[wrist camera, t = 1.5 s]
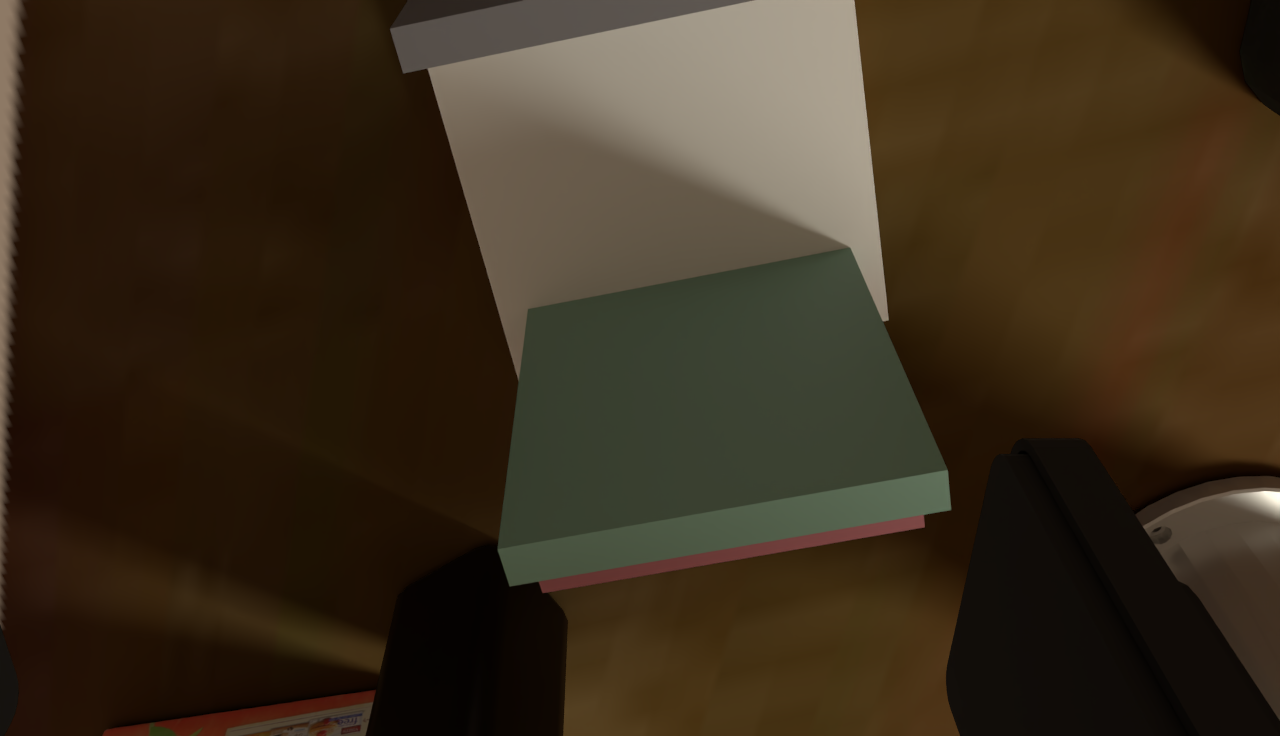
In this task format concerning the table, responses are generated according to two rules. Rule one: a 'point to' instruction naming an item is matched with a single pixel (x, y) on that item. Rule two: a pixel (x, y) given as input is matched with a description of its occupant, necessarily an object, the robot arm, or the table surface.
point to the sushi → (1263, 52)
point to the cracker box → (270, 720)
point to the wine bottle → (472, 656)
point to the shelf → (679, 278)
